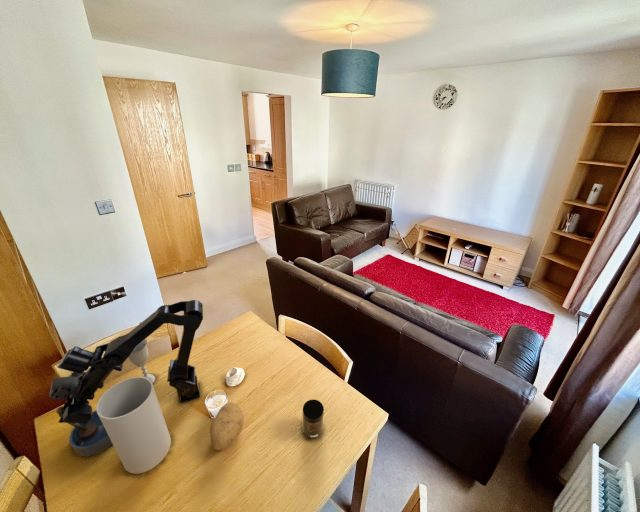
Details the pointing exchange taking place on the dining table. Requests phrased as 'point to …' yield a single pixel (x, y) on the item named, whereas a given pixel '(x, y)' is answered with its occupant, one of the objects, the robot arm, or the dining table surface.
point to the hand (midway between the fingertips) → (60, 419)
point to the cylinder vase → (135, 424)
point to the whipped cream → (234, 376)
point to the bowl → (93, 443)
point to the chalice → (141, 359)
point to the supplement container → (313, 418)
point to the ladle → (84, 431)
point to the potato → (226, 426)
